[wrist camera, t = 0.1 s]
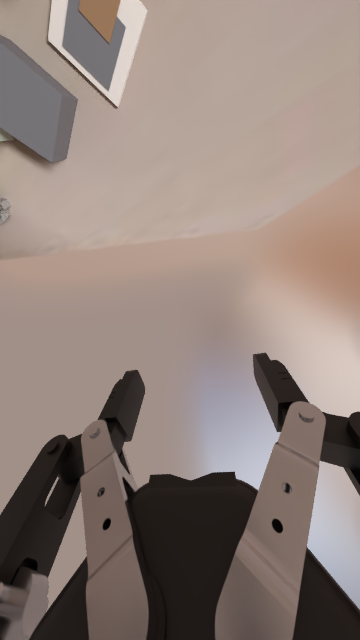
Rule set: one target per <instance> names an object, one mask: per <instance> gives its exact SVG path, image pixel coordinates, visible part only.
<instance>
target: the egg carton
mask: <svg viewBox="0 0 360 640" xmlns="http://www.w3.org/2000/svg"><path fill="white" fill-rule="evenodd" d="M0 205H1V206H2V208H3V209H2V210H0V224H2V223H3V222H4V221H5V220H6V219H7V218H9V215H11V213H10V210H9V208H10V207H11V204H10V203H9V201H8V200H7V199H3V198H1V197H0Z"/></svg>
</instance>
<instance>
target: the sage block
mask: <svg viewBox="0 0 360 640" xmlns="http://www.w3.org/2000/svg"><path fill="white" fill-rule="evenodd" d="M8 140H14V138H13V136H12V135H10V134H9V133H7V132H6V131H4V130H3V129H2V128H0V141H8Z"/></svg>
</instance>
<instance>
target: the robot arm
mask: <svg viewBox="0 0 360 640" xmlns="http://www.w3.org/2000/svg"><path fill="white" fill-rule="evenodd" d="M253 363H254V364H253V365H254V375H255V379H256V382H257V385H258V387H259V389H260V391H261V394H262V397H263V399H264V401H265V404H266V406H267V409H268V411H269V413H270V416H271V418H272V420H273V423H274V425H275V428H276V430H277V432H281V434H280V437H279V440H278V442H277V443H275V445H274V447H273V450H272V453H271V456H270V459H269V462H268V465H267V467H266V470H265V473H264V476H263V479H262V482H261V485H260V488H259V491H258V490H257V489H255V488H254V487H253V486H251V485H249V484H248V483H245V482H244V481H241V480H238V479H236V477H235V472H219V473H218V472H217V473H210V474H208V475H205V476H202V477H200V478H197V479H194V480H187V479H183V478H180V477H177V476H174V475H171V474H162V475H150V479H149V483H147V484H145V485H143V486H142V487H141V488H139V489H138V487H137V485H136V483H135V481H134V478H133V476H132V473H131V470H130V467H129V464H128V461H127V458H126V455H125V452H124V449H123V444H124V442H128V441H131V440H132V436H133V433H134V429H135V426H136V422H137V419H138V415H139V411H140V408H141V404H142V401H143V397H144V394H145V386H144V383H143V381H142V379H141V376H140V374H139V372H138V370H132V371H126V372H125V374H124V376H123V379H120V380H119V381H118V382H117V383H116V384H115V386H114V388H113V390H112V392H111V394H110V396H109V399H108V400H107V402H106V404H105V406H104V408H103V410H102V412H101V414H100V416H99V418H98V420H97V421H94V422H93V423H91V424H90V425H89V426H88V427H87V428H86V429H85V430H84V432H83V434H81V435H78V436H75V437H73V438H70V439H68V438H67V437H66V436H65V435H58V436H56V437H54V438H53V439H51V440H50V441H49V442H48V443H47V444H46V445H45V446H44V447H43V448H42V450H41V452H40V453H39V455H38V456H37V458H36V460H35V461H34V463H33V464H32V466H31V468H30V469H29V471H28V472H27V474H26V475H25V477H24V478H23V480H22V482H21V483H20V485H19V486H18V488H17V490H16V491H15V493H14V495H13V496H12V497H11V499H10V501H9V502H8V504H7V505H6V507H5V509H4V510H3V512H2V513H1V515H0V640H360V610H359V608H358V607H357V606H356V605H355V604H354V603H353V601H352V600H351V599H350V598H349V597H348V595H347V594H346V593H345V592H344V591H343V589H342V588H341V587H340V586H339V585H338V583H337V582H336V581H335V580H334V579H333V577H332V576H331V575H330V574H329V573H328V572H327V570H326V569H325V568H324V567H323V566H322V564H321V563H320V562H319V561H318V560H317V558H316V557H315V556H314V555H313V554H312V552H311V551H310V550H309V549H308V548H307V541H308V535H309V528H310V522H311V516H312V509H313V503H314V496H315V491H316V484H317V478H318V471H319V461H324V462H327V463H330V464H334V465H337V466H341V467H344V469H345V471H346V472H347V474H348V476H349V478H350V480H351V481H352V483H353V485H354V486H355V488H356V490H357V492H358V494H359V495H360V412H355V413H352V414H351V415H350V417H349V418H347V417H342V416H336V415H331V414H327V413H324V412H322V411H321V410H320V409H318V408H317V407H316V406H314V405H312V404H310V403H309V402H308V400H307V399H306V397H305V396H304V394H303V393H302V391H301V390H300V389H299V387H298V385H297V384H296V382H295V381H294V379H292V376H291V375H290V373H289V372H288V370H287V369H286V368H285V366H284V365H283V364H282V363H280V362H279V361H277V360H272V361H271V360H270V359H269V357H268V355H267V354H266V353H261V354H254V355H253ZM57 477H58V478H59V480H58V481H57V484H56V485H55V488H54V490H53V492H52V494H51V496H50V498H49V500H48V502H47V504H46V506H45V501H46V498H47V496H48V494H49V492H50V490H51V488H52V486H53V484H54V482H55V480H56V478H57ZM80 492H81V496H82V507H83V517H84V529H85V540H86V550H87V557H86V558H85V560H84V561H83V563H82V564H81V565H80V567H79V568H78V569H77V571H76V572H75V573H74V575H73V576H72V577H71V579H70V580H69V582H68V583H67V584H66V586H65V587H64V589H63V590H62V591H61V593H60V594H59V595H58V597H57V598H56V600H55V601H54V602H53V604H52V605H51V606H50V608H49V609H48V611H47V612H46V610H47V607H48V597H47V595H48V588H49V587H48V576H49V573H50V571H51V568H52V565H53V563H54V560H55V557H56V555H57V552H58V550H59V547H60V545H61V542H62V539H63V537H64V534H65V531H66V529H67V526H68V524H69V521H70V518H71V515H72V513H73V510H74V508H75V505H76V503H77V500H78V497H79V495H80Z"/></svg>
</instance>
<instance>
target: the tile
mask: <svg viewBox="0 0 360 640" xmlns="http://www.w3.org/2000/svg"><path fill="white" fill-rule="evenodd" d="M147 14H148V11H147V9H146V8H145V7H144V5H143V4H142V3H141V1H140V0H52V4H51V14H50V24H49V34H48V41H49V42H50V43H52V44H53V45H54V46H55V47H56V48H57V49H58V50H59V51H60V52H61V53H62V54H63V55H64V56H65V57H66V58H67V59H68V60H69V61H70V62H71V63H72V64H73V65H74V66H75V67H76V68H78V69H79V70H80V71H81V72H82V73H83V74H84V75H85V76H86V77H87V78H88V79H89V80H90V81H91V82H92V83H93V84H94V85H95V86H96V87H97V88H98V89H99V90H100V91H101V92H102V93H103V94H105V95H106V96H107V97H108V98H109V99H110V100H111V101H112V102H113V103H114V104H115V105H116V106H117V107H118V108H119V105H120V102H121V98H122V95H123V92H124V89H125V85H126V82H127V79H128V76H129V72H130V69H131V66H132V63H133V59H134V56H135V53H136V50H137V46H138V43H139V40H140V37H141V33H142V30H143V27H144V24H145V20H146V17H147Z"/></svg>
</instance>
